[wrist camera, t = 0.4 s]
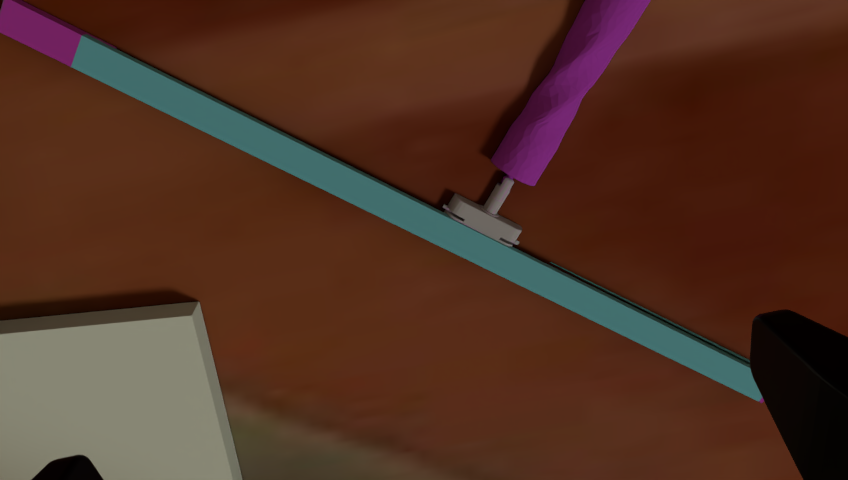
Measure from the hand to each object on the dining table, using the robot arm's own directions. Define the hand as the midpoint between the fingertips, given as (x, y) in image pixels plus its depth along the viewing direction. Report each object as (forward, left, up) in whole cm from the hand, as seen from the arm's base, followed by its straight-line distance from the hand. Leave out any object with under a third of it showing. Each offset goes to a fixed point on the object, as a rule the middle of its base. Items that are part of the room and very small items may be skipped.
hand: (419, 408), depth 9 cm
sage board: (-10, +12, -14) cm, 21 cm away
